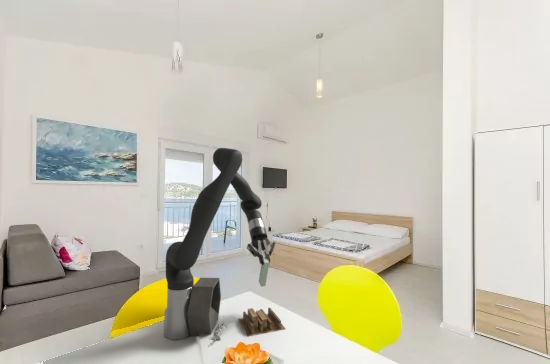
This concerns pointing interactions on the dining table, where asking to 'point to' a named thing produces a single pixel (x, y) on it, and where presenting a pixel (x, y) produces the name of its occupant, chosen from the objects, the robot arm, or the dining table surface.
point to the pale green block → (263, 272)
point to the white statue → (217, 333)
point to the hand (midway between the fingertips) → (265, 263)
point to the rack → (261, 324)
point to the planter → (204, 306)
